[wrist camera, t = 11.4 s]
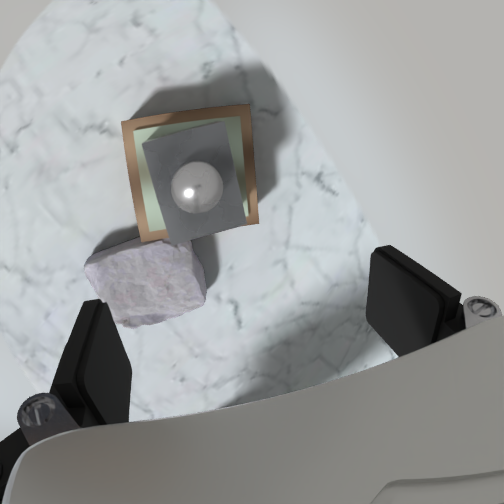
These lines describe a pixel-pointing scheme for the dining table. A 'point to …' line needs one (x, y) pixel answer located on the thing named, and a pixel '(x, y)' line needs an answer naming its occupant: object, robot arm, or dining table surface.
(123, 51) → the dining table surface
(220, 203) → the housing
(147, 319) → the stone block
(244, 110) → the stand
